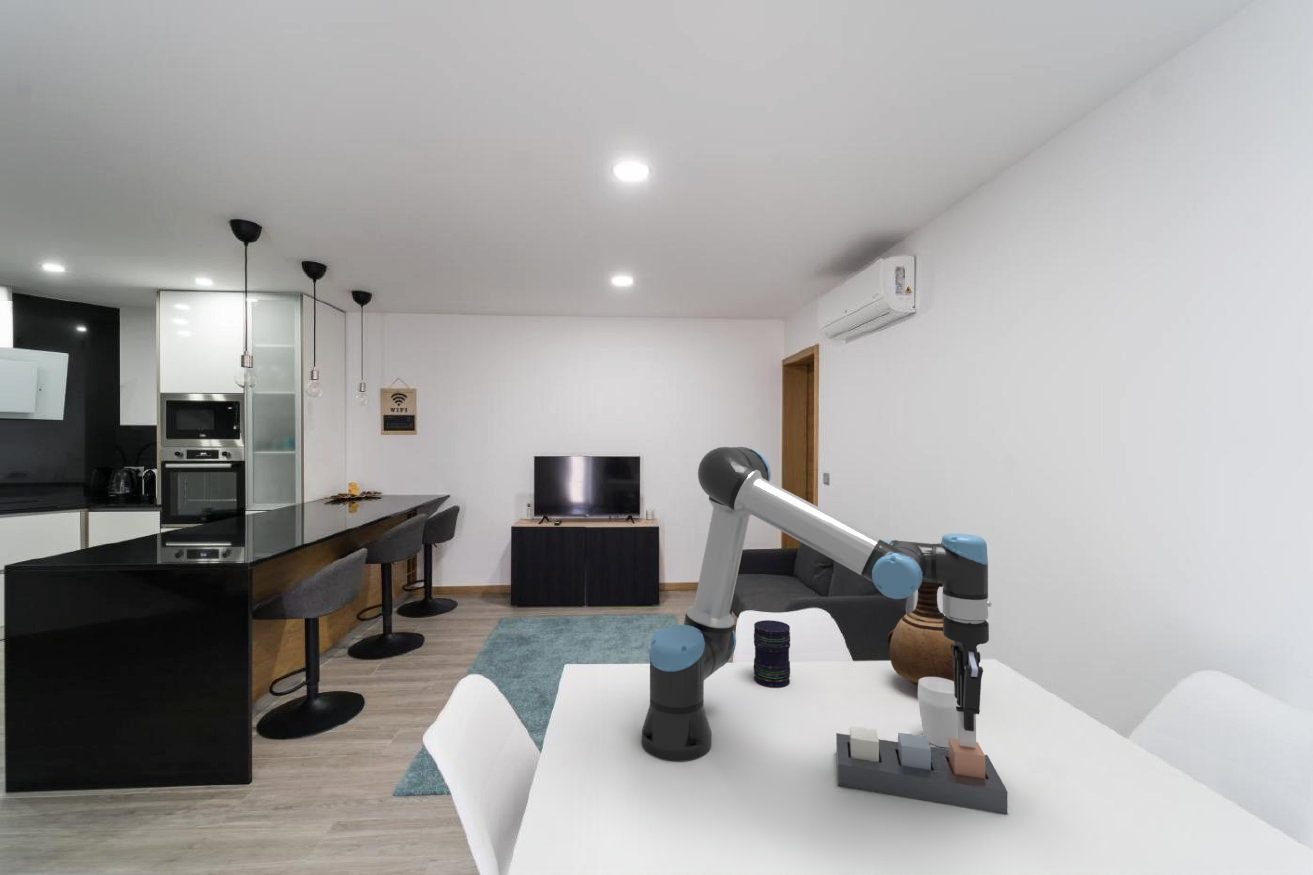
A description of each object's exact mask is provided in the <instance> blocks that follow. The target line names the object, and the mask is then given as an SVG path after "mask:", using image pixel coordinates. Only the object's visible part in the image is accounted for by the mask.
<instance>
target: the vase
mask: <svg viewBox="0 0 1313 875" xmlns="http://www.w3.org/2000/svg"><path fill="white" fill-rule="evenodd" d="M939 588H943V584H942V583H931V582H922V583H921V585H920V587H919V589H917V601H916V606H915V609H914V610H912V611H910V612H907V613H906V614H904V615H903V616H902V617H901V618H900V619H899V621H898V622H897V624H896V626H895V628H894V629H893V630H891V631H890V632H889V633H888V634H887V637H886V638H887V639H886V640H887V641H886V642H887V644H888V647H889V659H890V664H891V667H892V668H893V670H894V671H895V673H896V674H897V675H898V676H900V677H901V678H903V679H904V680H906V681H907V682H910V683H911V684H913V685H915V686H916V687H918V681H919V679H920V678H923V677H939V678H944V679H948V680H951V681H954V674H953V658H952V650H951V644H955V641H952V640H950V639H948V638H947V637H945V636H944V634H943V617H944V616H945V614H944V613H943V612H941V610H940V608H939V606H938V605H939V604H938V590H939Z"/></svg>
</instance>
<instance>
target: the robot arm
mask: <svg viewBox="0 0 1313 875" xmlns="http://www.w3.org/2000/svg"><path fill="white" fill-rule="evenodd" d="M697 468H698V469H697V479H698V482H699V485H700V487H701V489H702V491H703V492H704V493H705V494H706V495H708V501H709V503H710V504H711V506H712V508H713V509H712V513H711V520H710V523H709V529H708V533H707V539H706V542H705V543H706V544H705V548H704V554H703V558H702V563H701V567H700V568H701V569H700V573H699V579H698V584H697V589H696V593H695V599H694V603H693V604H692V605H691V606H689V607H687V608H686V610H685V614H684V621H683V624H673V625H671V626H665V627H662V628H660V629H659V630H658V631H656V632H655V633H654V634H653V636H652V637H651V640H650V649H649V656H648V657H649V708H648V710H647V713H646V716H645V719H644V723H643V726H642V729H641V746H642V748H643V749H644V751H645V752H647V753H648V754H649V755H651V756H652V757H655V758H658V759H660V760H663V761H665V760H666V761H672V762H673V761H674V762H685V761H691V760H695V759H698V758H701V757H703V756H705V755H706V754H708V752H709V751H710V750H711V748H712V746H713V745H712V743H713V741H712V738H713V737H712V736H713V735H712V729H711V726H710V723H709V720H708V717H707V714H706V710H705V705H704V703H705V702H704V695H705V694H704V693H705V692H704V691H705V690H704V685H705V684H704V682H705V680H706V679H707V678H709V677H710V676H711V675H713V674H715V672H716V671H718V670H719V669H721V668H722V667H724V666H725V665H726V664H727V663H728V662H729V660H730V659H731V657H732V656H733V654H734V652H735V650H736V646H737V636H736V632H735V631H734V626H735V619H734V617H733V616H732V614H731V608H732V604H733V599H734V595H735V589H736V584H737V580H738V574H739V570H740V564H741V559H742V556H743V555H742V554H743V550H744V545H745V541H746V535H747V530H748V525H749V521H750V517H751V515H752V516H753V517H756V518H757V519H759V520H760V521H763V522H765V523H766V524H768V525H769V526H772V527H773V528H776V530H779V531H781V532H783V533H784V534H786V535H788V536H789V537H792V538H793V539H795V540H796V541H798V542H801V543H802V544H804V545H805V546H807V547H809V548H811V549H813V550H815V551H816V552H818V553H820V554H822V555H823V556H826V557H828V558H829V559H830V560H832V561H835V562H837V563H838V564H840V565H842V566H844V567H845V568H847V569H849V570H851V571H852V572H854V573H856V574H858V575H860V576H861V577H864V578H865V579H867V580H868V581H870V582H872V583H873V585H874V586H875V588H876V589H877V590H878V591H879V592H880V593H881V594H882V595H883V596H885V597H887V598H890V599H894V600H903V599H906V598H908V597H911V596H912V595H913V594H914V593H916V591H918V589H919V587H920V585H921V583H922V582H931V583H942V584H943V587H942V598H941V599H942V613H943V614H944V617H943V634H944V636H945V637H947V638H948V639H950V640H952V641H955V644H951V650H952V658H953V674H954V690H955V693H954V696H955V698H957V704H958V706H960V707H958V706H956V710H957V711H958V742H959V745H960V746H966V747H973V748H976V742H977V715H980V712H981V709H980V707H981V706H980V705H981V691H982V690H981V689H982V677H983V672H984V669H983V667H982V666H980V663H981V653H980V652H979V651H978V648H977V646H979V645H984V644H987V643H988V642H989V640H990V630H989V629H990V625H989V622H988V621H987V620H988V619H989V608H990V607H992V602H991V601H989V559H988V546H987V545H988V544H987V541H986V540H985V539H984V538H983V537H981V536H979V535H975V534H967V533H946V534H943V535H942V537H941V538H942V539H941V541H940V543H926V542H917V541H907V540H906V541H905V540H898V539H892V540H890V539H887V540H886V539H880V538H879V537H877V536H875V535H873V534H871V533H868V531H865V530H863V529H862V528H860V527H858V526H856V525H853V524H852V523H850V522H848V521H846V520H844V519H843V518H841V517H838V516H837V515H835V514H832V513H831V512H829V511H827V510H825V509H823V508H821V507H819V506H817V505H815V504H813V503H811V502H809V501H807V500H806V499H804V498H802V497H799V496H798V495H796V494H794V493H792V492H790V491H788V490H786V489H785V488H782V487H780V486H779V485H776V484H775V483H772V482H770V481H771V476H772V475H771V474H772V473H771V468H770V464H769V463H768V460H767V459H766V458H765V456H764V455H763V454H762V453H760V452H759V451H758V450H756V449H753V448H750V447H746V446H733V447H730V446H720V447H717V448H714V449H712V450H710V451H708V452H707V453H706V454H705V455H704V457H702V459H701V461H700V463H699V466H698V467H697Z"/></svg>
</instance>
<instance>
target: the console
mask: <svg viewBox="0 0 1313 875" xmlns="http://www.w3.org/2000/svg"><path fill="white" fill-rule="evenodd" d="M835 734H836V737H835V738H836V740H835V741H836V750H835V751H836V768H837V785H838V787H842V788H848V789H849V788H850V789H853V790H854V789H855V790H859V791H866V792H872V793H878V794H884V795H890V796H896V797H902V798H907V799H908V798H909V799H913V800H918V801H920V800H921V801H926V802H932V803H938V804H943V805H949V806H953V807H954V806H956V807H960V808H967V809H973V810H979V811H984V812H990V813H995V814H1001V815H1002V814H1003V815H1009V814H1008V808H1009V807H1008V806H1009V805H1008V803H1009V802H1008V789H1007V788H1006V785H1005V784H1004V783H1003V780H1002V778H1000V775H999V773H998V772H997V770H996V768H995V767H994V764H993V763H992V761H991V759H990V757H989V756H988V754H984V755H985V779H983V778H977V777H970V776H964V775H957V774H952V771H951V769H950V766H949V748H943V747H937V746H936V747H934V746H930V749H931V770H925V769H919V768H912V767H906V766H900V763H899V760H898V741H893V740H887V739H879V738H878V740H879V762H874V761H867V760H861V759H854V758H851V757H850V734H845V733H844V734H843V733H835Z"/></svg>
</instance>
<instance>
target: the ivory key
mask: <svg viewBox="0 0 1313 875" xmlns="http://www.w3.org/2000/svg"><path fill="white" fill-rule="evenodd" d="M849 735H850V757H851V758H854V759H861V760H867V761H874V762H879V740H878V739H879V736H878V735H879V734H878V732H877V729H874V728H867V727H862V726H861V727H860V726H855V725H854V726H853V725H849Z"/></svg>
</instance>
